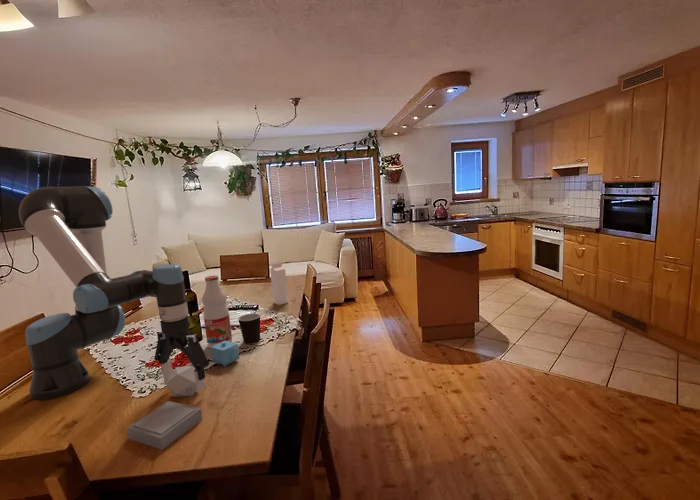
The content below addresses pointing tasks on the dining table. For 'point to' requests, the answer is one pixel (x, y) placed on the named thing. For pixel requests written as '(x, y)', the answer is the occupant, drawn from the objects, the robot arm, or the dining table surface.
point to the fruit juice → (216, 313)
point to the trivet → (164, 424)
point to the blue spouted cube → (225, 353)
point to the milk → (279, 284)
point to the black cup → (250, 328)
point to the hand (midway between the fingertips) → (184, 385)
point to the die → (182, 382)
